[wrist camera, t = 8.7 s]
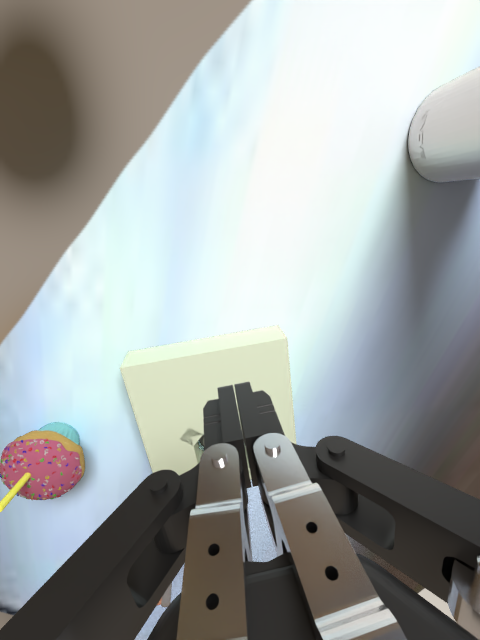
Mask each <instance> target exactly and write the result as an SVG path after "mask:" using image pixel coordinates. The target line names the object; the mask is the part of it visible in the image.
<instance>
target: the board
mask: <svg viewBox="0 0 480 640" xmlns="http://www.w3.org/2000/svg"><path fill="white" fill-rule="evenodd" d="M120 370H121V373H122V376H123V380H124V383H125V386H126V389H127V392H128V396H129V399H130V402H131V405H132V408H133V411H134V415H135V418H136V421H137V424H138V427H139V431H140V434H141V437H142V440H143V443H144V447H145V450H146V453H147V456H148V459H149V462H150V466H151V469H152V472H153V473H154V472H157V471H160V470H172V471H175V472H176V473H177V474H178V475H181V474H183V473H185V472H187V471H189V470H191V469H192V468H194V467H195V466H196V465H197V464H198V463H199V462H200V458H201V455H202V454H203V452H204V451H203V450H201V449H200V448H199V444H198V440H199V441H200V443H201V444H202V445H203V446H204V443H203V438H204V423H203V419H204V418H203V408H204V406H205V405H206V403H207V401H209V400H214V399H218V389H217V388H218V387H223V386H228V385H233V388H234V393H235V387H234V384H239V383H244V382H250V385H251V388H252V391H253V392H256V391H261V390H263V391H265V392H266V393H267V394H268V395H269V396H270V398H271V400H272V403H273V405H274V408H275V411H276V413H277V416H278V419H279V421H280V424H281V426H282V429H283V432H284V434H285V436H286V437H287V438H288V439H289V440H290V441H291V442H292V443H294V444H296V435H295V423H294V411H293V400H292V388H291V377H290V365H289V354H288V342H287V337H286V336H285V334H284V333H283V331H282V330H281V328H280V327H279V326H278V325H276V326H270V327H264V328H258V329H253V330H247V331H241V332H236V333H230V334H224V335H219V336H213V337H207V338H202V339H196V340H190V341H185V342H179V343H173V344H168V345H162V346H156V347H150V348H145V349H139V350H133V351H128V352H127V355H126V357H125V359H124V361H123V363H122V365H121V367H120ZM235 398H236V393H235ZM236 404H237V399H236ZM237 409H238V405H237ZM238 414H239V411H238ZM239 419H240V417H239ZM240 424H241V422H240ZM241 429H242V428H241ZM242 435H243V433H242ZM243 440H244V438H243ZM244 446H245V445H244ZM245 452H246V448H245ZM246 458H247V453H246ZM247 464H248V470H249V476H250V479H251V474H250V468H249V463H248V458H247ZM171 586H172V582H171V584H170V586H169V587H168V589H167V590H166V592H165V593H164V595H163V596H162V598H161V599H160V601H159V602H158V604H157V605H160V604H161V606H162V607H168V606H169V605H170V600H171Z"/></svg>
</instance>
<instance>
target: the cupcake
mask: <svg viewBox="0 0 480 640" xmlns="http://www.w3.org/2000/svg"><path fill="white" fill-rule="evenodd" d="M84 471H85V460H84V454H83V450H82V447H81V446H79V435H78V433H77V431H76V430H75V429H74V428H73V427H72V426H70V425H68V424H65V423H60V422H55V423H50V424H47V425H45V426H44V427H42V428H41V429H39V430H38V431H31V432H29V433H27V434H25V435H23V436H20V437H18V438H17V439H15V440H14V441H13V442H11V443H9V444H8V445H7V446H6V447H5V449H4V450H3V452H2V456H1V461H0V475H1V476H0V477H1V480H2V482H3V483H4V484H5V485H6V486H7V487H8V488H9V489H10V491H9V492H8V494H7V495H6V496H5V497H4V498H3V499H2V500H1V501H0V512H1V511H2V510H3V509H4V508H5V507H6V506H7V504H8V503H9V502H10V501H11V500H12V498H13V497H14V496H15V495H17V496H19V495H20V496H21V497H24V498H26V499H31V500H33V499H34V500H47V499H53V498H56V497H60V496H61V495H62V494H64V493H66V492H68V491H69V490H71V489H72V488H73V487H74V486H75V485H76V483H77V482H78V481H79V480H80V479H81V478H82V476H83V474H84Z"/></svg>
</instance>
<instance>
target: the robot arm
mask: <svg viewBox="0 0 480 640" xmlns="http://www.w3.org/2000/svg"><path fill="white" fill-rule="evenodd" d="M408 147H409V154H410V159H411V161H412V163H413V166H414V168H415V169H416V170H417V172H418V173H419V174H420V175H421V176H423V177H424V178H425V179H427V180H430V181H433V182H441V183H442V182H451V181H461V180H472V179H480V67H478V68H476V69H473V70H471V71H469V72H468V73H466V74H464V75H462V76H460V77H458V78H456V79H454V80H452V81H450V82H448V83H446V84H444V85H442V86H440V87H439V88H437V89H436V90H434V91H433V92H432V93H431V94H430V95H428V96H427V97H426V98H425V100H424V101H423V102H422V104H421V105H420V106H419V108H418V110H417V112H416V114H415V116H414V118H413V121H412V124H411V127H410V131H409V138H408ZM234 387H235V393H236V398H235V393H234V388H233V385H228V386H223V387H218V388H217V389H218V399H214V400H209V401H207V403H206V405H205V406H204V408H203V418H204V419H203V423H204V452H203V454H202V455H201V458H200V462H199V463H198V464H197V465H196V466H195V467H194V468H192V469H191V470H189V471H187V472H185V473H183V474H181V475H178V474H177V473H176V472H175V471H172V470H160V471H157V472H154V473H153V474H151V475H149V476H148V477H147V478H146V479H145V480H144V481H143V482H142V483H141V484H140V485H139V486H138V487H137V488H136V489H135V490H134V491H133V492H132V493H131V494H130V495H129V496H128V497H127V498H126V499H125V501H124V502H123V503H122V504H121V505H120V506H119V507H118V508H117V509H116V510H115V511H114V512H113V513H112V514H111V515H110V516H109V517H108V518H107V519H106V520H105V521H104V522H103V523H102V524H101V526H100V527H99V528H98V529H97V530H96V531H95V532H94V533H93V534H92V535H91V536H90V537H89V538H88V539H87V540H86V541H85V542H84V543H83V544H82V545H81V546H80V547H79V548H78V549H77V550H76V552H75V553H74V554H73V555H72V556H71V557H70V558H69V559H68V560H67V561H66V562H65V563H64V564H63V565H62V566H61V567H60V568H59V569H58V570H57V571H56V572H55V573H54V574H53V575H52V576H51V578H50V579H49V580H48V581H47V582H46V583H45V584H44V585H43V586H42V587H41V588H40V589H39V590H38V591H37V592H36V593H35V594H34V595H33V596H32V597H31V598H30V599H29V600H28V601H27V603H26V604H25V605H24V606H23V607H22V608H21V609H20V610H19V611H18V612H17V613H16V614H15V615H14V616H13V617H12V618H11V619H10V620H9V621H8V622H7V623H6V625H4V626H3V627H2V629H1V630H0V640H134V639H135V638H136V636H137V634H138V633H139V631H140V630H141V628H142V627H143V625H144V624H145V622H146V621H147V619H148V618H149V616H150V615H151V613H152V612H153V610H154V608H155V607H156V605H157V604H158V602H159V601H160V599H161V598H162V596H163V595H164V593H165V592H166V590H167V589H168V587H169V586H170V584H171V582H172V581H173V579H174V578H175V576H176V575H177V573H178V572H179V570H180V569H181V567H182V566H183V564H184V563H185V564H184V574H183V583H182V592H181V593H180V594H179V595H178V596H177V597H176V598H175V599H174V600H173V601H172V603H171V604H170V605H169V606H168V607H167V609H166V610H165V611H164V613H163V614H162V616H161V617H160V619H159V620H158V622H157V624H156V625H155V627H154V629H153V631H152V632H151V634H150V636H149V637H148V639H147V640H480V500H479V499H477V498H475V497H473V496H471V495H468V494H466V493H464V492H462V491H460V490H457V489H455V488H453V487H451V486H449V485H447V484H444V483H442V482H440V481H438V480H436V479H433V478H431V477H429V476H427V475H425V474H422V473H420V472H418V471H416V470H414V469H411V468H409V467H407V466H405V465H403V464H401V463H398V462H396V461H394V460H392V459H390V458H387V457H385V456H383V455H381V454H379V453H376V452H374V451H372V450H370V449H368V448H365V447H363V446H361V445H359V444H357V443H355V442H352V441H350V440H348V439H346V438H343V437H339V436H328V437H325V438H323V439H321V440H320V441H319V442H318V443H317V445H316V447H305V446H299V445H296V444H294V443H292V442H291V441H290V440H289V439H288V438H287V437H286V436H285V434H284V432H283V429H282V426H281V424H280V421H279V419H278V416H277V413H276V411H275V408H274V405H273V403H272V400H271V398H270V396H269V395H268V394H267V393H266V392H265V391H263V390H261V391H256V392H253V391H252V388H251V385H250V382H244V383H239V384H234ZM236 399H237V404H236ZM237 405H238V409H237ZM238 411H239V414H238ZM239 417H240V419H239ZM240 422H241V424H240ZM241 428H242V429H241ZM242 433H243V435H242ZM243 438H244V440H243ZM244 443H245V446H244ZM245 448H246V452H245ZM246 453H247V458H248V463H249V468H250V474H251V479H252V484H253V487H254V486H259V490H260V495H261V502H262V507H263V510H264V514H265V517H266V520H267V524H268V527H269V530H270V534H271V537H272V540H273V544H274V547H275V550H276V554H277V557H276V558H275V559H273V560H271V561H269V562H253V561H252V549H251V537H250V525H249V513H248V506H247V504H248V495H247V489H246V488H250V487H251V482H250V476H249V470H248V464H247V458H246ZM345 533H346V534H347V535H349V536H350V537H351V538H353V539H354V540H356V541H357V542H359V543H360V544H362V545H363V546H365V547H366V548H368V549H369V550H370V551H372V552H373V553H375V554H376V555H378V556H379V557H381V558H382V559H384V560H385V561H387V562H388V563H390V564H391V565H392V566H394V567H395V568H397V569H398V570H400V571H401V572H403V573H404V574H406V575H407V576H409V577H410V578H411V579H413V580H414V581H416V582H417V583H419V584H420V585H422V586H423V587H425V588H426V589H428V590H429V591H431V592H432V593H433V594H435V595H436V596H438V597H439V598H441V599H442V600H444V601H445V602H447V603H448V605H449V608H450V611H451V613H452V615H453V617H454V619H455V620H456V622H457V623H456V622H455V621H453V620H452V619H451V618H449V617H448V616H447V615H445V614H444V613H443V612H441V611H440V610H438V609H437V608H436V607H435V606H433V605H432V604H431V603H429V602H428V601H426V600H425V599H424V598H423V597H421V596H420V595H419V594H417V593H416V592H415V591H413V590H412V589H410V588H409V587H408V586H406V585H405V584H404V583H402V582H401V581H400V580H398V579H397V578H396V577H394V576H393V575H392V574H390V573H389V572H388V571H386V570H385V569H384V568H382V567H381V566H379V565H378V564H377V563H375V562H373V561H372V560H370V559H368V558H366V557H364V556H362V555H360V554H357V553H355V551H354V549H353V548H352V546H351V544H350V542H349V540H348V538H347V536H346V534H345Z"/></svg>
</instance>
